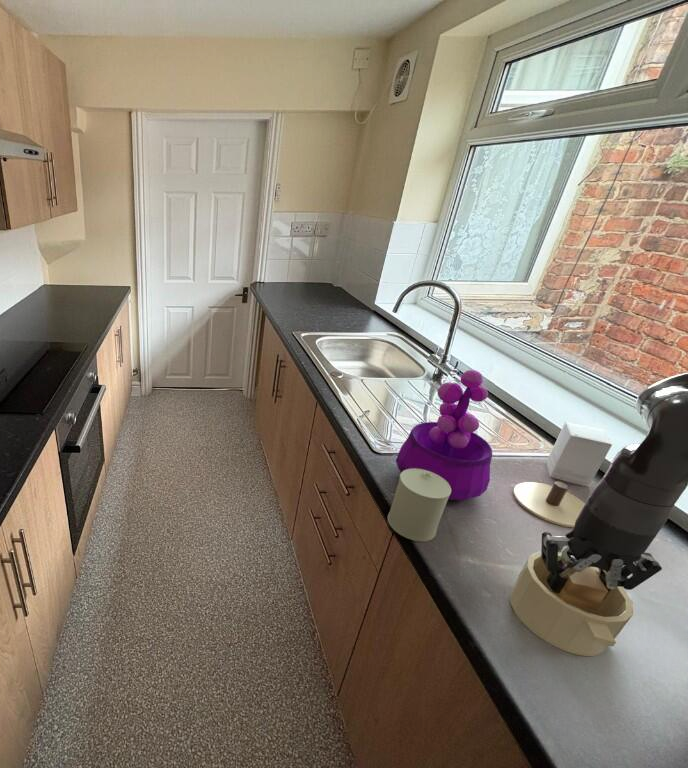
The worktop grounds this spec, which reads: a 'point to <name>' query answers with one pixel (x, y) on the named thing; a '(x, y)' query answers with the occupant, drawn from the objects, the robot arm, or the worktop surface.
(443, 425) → the decorative plant
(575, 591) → the block
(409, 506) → the can
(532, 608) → the pot
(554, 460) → the white packaging box
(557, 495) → the lid
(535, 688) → the worktop surface
